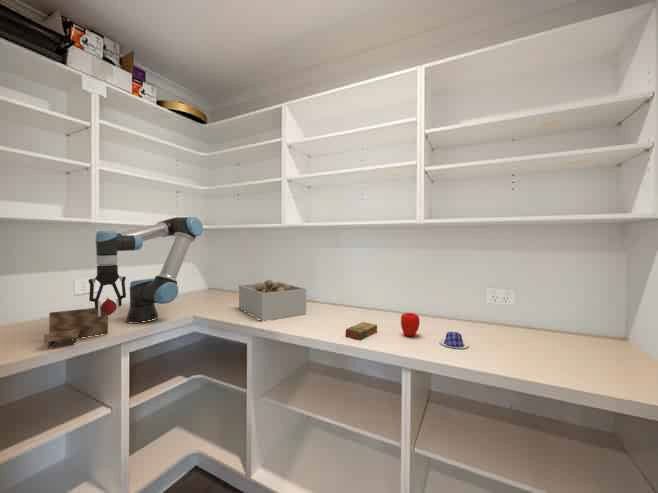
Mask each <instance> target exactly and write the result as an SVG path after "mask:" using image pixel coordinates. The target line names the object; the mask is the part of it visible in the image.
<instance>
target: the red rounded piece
mask: <svg viewBox="0 0 658 493" xmlns="http://www.w3.org/2000/svg"><path fill="white" fill-rule="evenodd" d="M400 325H401V330H402V332H403V334H404V336H406V337H413V336H415V335H416V334H417V332H418V331H419V328H420V316H419V315H418V314H417V313H412V312H406V313H402V314H401V316H400Z"/></svg>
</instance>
